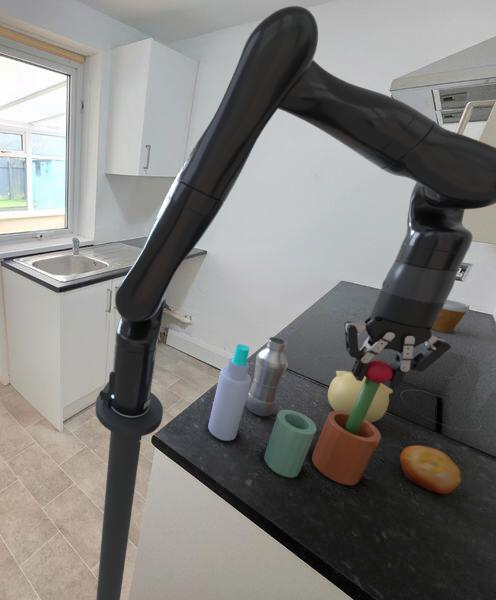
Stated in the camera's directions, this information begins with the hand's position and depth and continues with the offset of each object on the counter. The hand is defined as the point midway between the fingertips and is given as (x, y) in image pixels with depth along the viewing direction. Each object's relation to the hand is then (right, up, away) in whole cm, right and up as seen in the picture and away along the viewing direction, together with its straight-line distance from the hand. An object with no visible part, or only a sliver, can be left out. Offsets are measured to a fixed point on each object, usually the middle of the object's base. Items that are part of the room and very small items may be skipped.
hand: (373, 381), depth 56 cm
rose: (-1, -18, +7) cm, 19 cm away
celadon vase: (-12, -19, +8) cm, 24 cm away
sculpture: (+15, -14, +24) cm, 32 cm away
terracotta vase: (-1, -20, +8) cm, 21 cm away
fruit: (+14, -21, +6) cm, 26 cm away
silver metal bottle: (-9, -13, +23) cm, 28 cm away
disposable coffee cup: (+96, +2, +76) cm, 123 cm away
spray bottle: (-21, -16, +15) cm, 30 cm away
